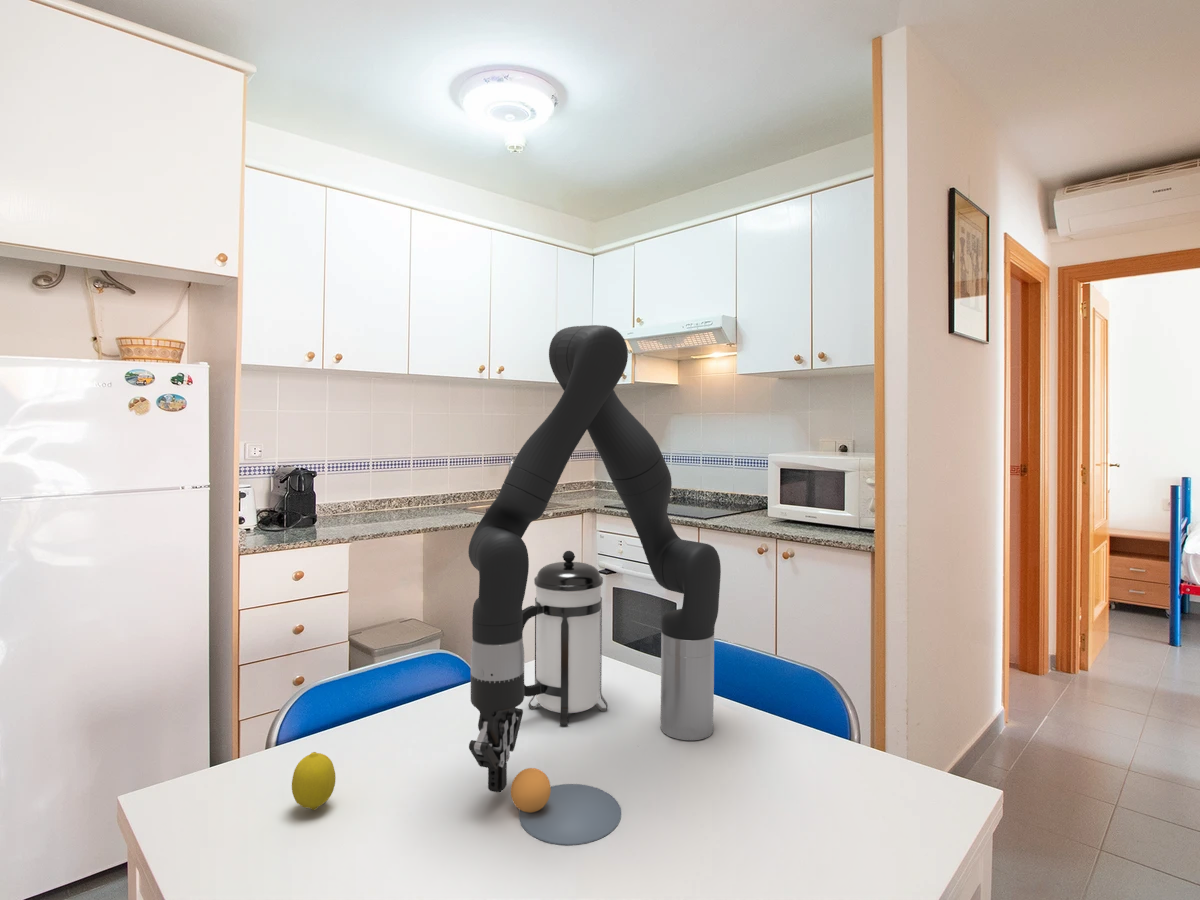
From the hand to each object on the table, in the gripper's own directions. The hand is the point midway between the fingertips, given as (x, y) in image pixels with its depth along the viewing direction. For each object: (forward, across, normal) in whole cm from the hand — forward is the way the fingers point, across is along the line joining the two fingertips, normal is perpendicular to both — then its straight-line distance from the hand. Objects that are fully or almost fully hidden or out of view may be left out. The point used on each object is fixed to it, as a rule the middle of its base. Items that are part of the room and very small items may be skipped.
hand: (497, 788), depth 94 cm
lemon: (+2, -10, +23) cm, 25 cm away
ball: (-1, -1, -6) cm, 6 cm away
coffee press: (+2, +30, +1) cm, 30 cm away
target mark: (+2, 0, -11) cm, 11 cm away
